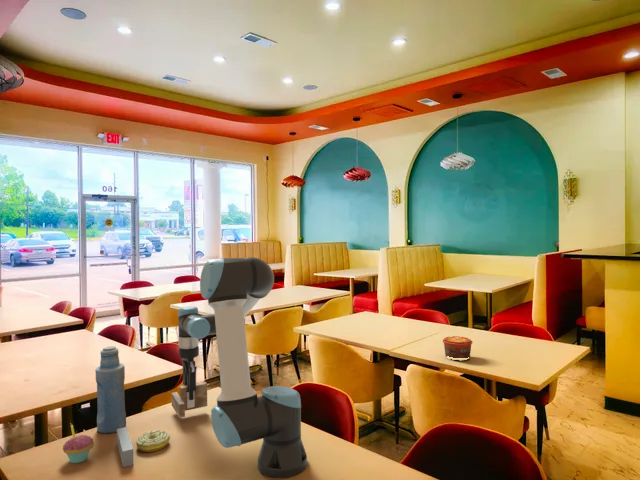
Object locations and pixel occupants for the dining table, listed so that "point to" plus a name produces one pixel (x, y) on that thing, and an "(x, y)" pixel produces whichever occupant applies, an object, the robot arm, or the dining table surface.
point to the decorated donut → (152, 441)
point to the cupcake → (78, 447)
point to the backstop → (125, 447)
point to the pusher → (181, 401)
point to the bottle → (110, 392)
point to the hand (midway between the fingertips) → (189, 405)
